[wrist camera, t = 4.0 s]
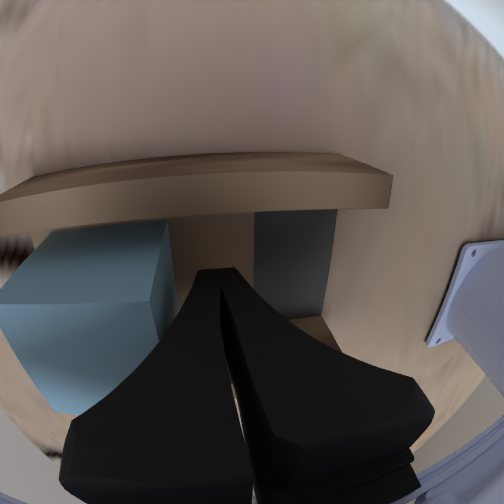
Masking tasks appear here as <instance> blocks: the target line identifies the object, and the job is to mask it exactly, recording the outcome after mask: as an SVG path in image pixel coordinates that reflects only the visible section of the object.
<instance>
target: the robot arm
mask: <svg viewBox="0 0 504 504" xmlns="http://www.w3.org/2000/svg"><path fill="white" fill-rule="evenodd" d="M454 338H455V339H456V340H457V341H458V342H459V344H460V345H461V346H462V347H463V348H464V349H465V350H466V352H467V353H468V354H469V355H470V356H471V357H472V359H473V360H474V361H475V362H476V363H477V365H478V366H479V367H480V368H481V369H482V371H483V372H484V373H485V374H486V375H487V377H488V378H489V379H490V380H491V382H492V383H493V384H494V386H495V387H496V388H497V389H498V391H499V392H500V393H501V395H502V396H503V397H504V240H498V241H488V242H478V243H468V244H466V245H465V246H464V247H463V248H462V250H461V253H460V257H459V260H458V263H457V266H456V269H455V272H454V275H453V278H452V281H451V283H450V286H449V289H448V292H447V294H446V297H445V299H444V302H443V304H442V307H441V309H440V312H439V314H438V316H437V319H436V321H435V323H434V326H433V328H432V330H431V332H430V334H429V337H428V339H427V341H426V345H427V346H428V347H429V348H430V347H434V346H436V345H439V344H442V343H444V342H447V341H449V340H452V339H454ZM226 361H227V362H226ZM227 364H228V367H227ZM228 368H229V372H230V376H231V379H232V383H233V387H234V390H235V394H236V398H237V402H238V406H239V411H240V417H241V422H242V428H243V433H244V437H243V433H242V429H241V425H240V421H239V417H238V413H237V409H236V404H235V400H234V396H233V391H232V386H231V382H230V377H229V372H228ZM434 414H435V410H434V408H433V406H432V404H431V403H430V401H429V400H428V398H427V397H426V395H425V394H424V392H423V391H422V389H421V388H420V387H419V385H418V384H417V382H416V381H415V380H414V379H413V378H412V377H409V376H405V375H402V374H398V373H395V372H392V371H388V370H385V369H382V368H379V367H376V366H373V365H370V364H368V363H365V362H363V361H360V360H358V359H355V358H353V357H350V356H348V355H346V354H344V353H342V352H340V351H338V350H336V349H334V348H332V347H330V346H328V345H326V344H324V343H323V342H321V341H319V340H317V339H315V338H314V337H312V336H310V335H309V334H307V333H306V332H304V331H303V330H301V329H300V328H298V327H297V326H295V325H294V324H292V323H291V322H290V321H288V320H287V319H286V318H285V317H283V316H282V315H281V314H280V313H279V312H277V311H276V310H275V309H274V308H273V307H272V306H271V305H270V304H268V303H267V302H266V301H265V300H264V299H263V298H262V297H261V296H260V295H259V294H258V293H257V292H256V291H255V290H254V289H253V287H252V286H251V285H250V284H249V283H248V282H247V281H246V280H245V278H244V277H243V276H242V275H241V273H240V272H239V271H238V270H237V269H236V268H235V267H229V268H216V269H202V270H199V271H198V272H197V273H196V276H195V279H194V282H193V285H192V287H191V289H190V292H189V294H188V296H187V298H186V299H185V301H184V303H183V305H182V307H181V309H180V311H179V312H178V314H177V316H176V317H175V319H174V320H173V322H172V324H171V325H170V327H169V328H168V330H167V331H166V333H165V334H164V335H163V337H162V338H161V340H160V341H159V342H158V343H157V345H156V346H155V347H154V349H153V350H152V351H151V352H150V353H149V354H148V355H147V357H146V358H145V359H144V360H143V361H142V362H141V363H140V365H139V366H138V367H137V368H136V369H135V370H134V371H133V372H132V373H131V374H130V375H129V376H128V377H126V378H125V379H124V380H123V381H122V382H121V383H120V384H119V385H118V386H117V387H116V388H115V389H114V390H112V391H111V392H110V393H109V394H108V395H107V396H105V397H104V398H103V399H101V400H100V401H99V402H97V403H96V404H95V405H93V406H92V407H91V408H89V409H88V410H86V411H85V412H84V413H82V414H81V415H79V416H78V417H76V418H75V419H73V420H72V421H71V424H70V428H69V430H68V433H67V436H66V439H65V443H64V448H63V454H62V460H61V466H60V473H59V481H60V483H61V485H62V486H63V487H64V489H65V490H67V491H68V492H69V493H70V494H72V495H74V496H75V497H77V498H78V499H80V500H82V501H83V502H85V503H87V504H252V495H253V487H254V492H255V498H256V503H257V504H406V503H408V502H410V501H412V500H414V499H415V498H417V497H418V498H417V499H416V500H415V503H414V504H504V415H503V416H502V417H501V418H500V419H499V420H497V421H496V422H495V423H494V424H493V425H491V426H490V427H489V428H487V429H486V430H485V431H484V432H482V433H481V434H480V435H478V436H477V437H475V438H474V439H473V440H471V441H470V442H469V443H467V444H466V445H464V446H463V447H461V448H460V449H458V450H457V451H455V452H454V453H452V454H451V455H449V456H447V457H446V458H444V459H443V460H441V461H439V462H437V463H436V464H434V465H432V466H431V467H429V468H427V469H426V470H423V471H422V472H420V473H418V474H415V473H414V470H413V468H412V467H411V465H410V463H411V462H413V461H414V456H413V454H412V452H411V450H410V447H411V446H412V444H413V443H414V442H415V441H416V440H417V439H418V438H419V437H420V436H421V435H422V434H423V432H424V431H425V430H426V429H427V428H428V426H429V425H430V424H431V422H432V420H433V417H434ZM244 439H245V441H244ZM0 504H27V503H25V502H22V501H19V500H17V499H15V498H12V497H10V496H8V495H5V494H3V493H1V492H0Z"/></svg>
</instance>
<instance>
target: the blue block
mask: <svg viewBox="0 0 504 504" xmlns="http://www.w3.org/2000/svg"><path fill="white" fill-rule="evenodd" d="M179 311H180V309H179V303H178V297H177V291H176V284H175V277H174V270H173V263H172V255H171V247H170V239H169V230H168V221H167V220H164V221H152V222H140V223H129V224H118V225H108V226H98V227H89V228H80V229H71V230H62V231H54V232H51V233H50V234H49V235H48V236H47V237H46V238H45V239H44V240H43V241H42V242H41V244H40V245H39V246H38V247H37V248H36V249H35V250H34V251H33V252H32V253H31V254H30V255H29V256H28V257H27V259H26V260H25V261H24V262H23V263H22V264H21V265H20V266H19V268H18V269H17V270H16V271H15V272H14V273H13V275H12V276H11V277H10V278H9V279H8V281H7V282H6V283H5V284H4V285H3V287H2V288H1V289H0V328H1V329H2V331H3V333H4V335H5V337H6V339H7V340H8V342H9V344H10V346H11V348H12V349H13V351H14V353H15V354H16V356H17V358H18V359H19V361H20V363H21V364H22V366H23V367H24V369H25V370H26V372H27V373H28V375H29V376H30V378H31V379H32V381H33V382H34V384H35V385H36V387H37V388H38V389H39V391H40V392H41V394H42V395H43V396H44V398H45V399H46V400H47V402H48V403H49V404H50V406H51V407H52V408H53V409H54V411H55V412H60V413H67V414H75V415H81V414H82V413H84V412H85V411H86V410H88V409H89V408H91V407H92V406H93V405H95V404H96V403H97V402H99V401H100V400H101V399H103V398H104V397H105V396H107V395H108V394H109V393H110V392H111V391H112V390H114V389H115V388H116V387H117V386H118V385H119V384H120V383H121V382H122V381H123V380H124V379H125V378H126V377H128V376H129V375H130V374H131V373H132V372H133V371H134V370H135V369H136V368H137V367H138V366H139V365H140V363H141V362H142V361H143V360H144V359H145V358H146V357H147V355H148V354H149V353H150V352H151V351H152V350H153V349H154V347H155V346H156V345H157V343H158V342H159V341H160V340H161V338H162V337H163V335H164V334H165V333H166V331H167V330H168V328H169V327H170V325H171V324H172V322H173V320H174V319H175V317H176V316H177V314H178V312H179Z"/></svg>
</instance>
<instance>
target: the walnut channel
mask: <svg viewBox="0 0 504 504" xmlns="http://www.w3.org/2000/svg"><path fill="white" fill-rule="evenodd" d="M392 180H393V175H391V174H389V173H386V172H384V171H381V170H379V169H377V168H374V167H372V166H369V165H366V164H364V163H361V162H359V161H356V160H353V159H351V158H348V157H345V156H343V155H339V154H320V153H286V152H249V153H216V154H197V155H182V156H169V157H158V158H148V159H139V160H130V161H122V162H114V163H107V164H100V165H94V166H87V167H81V168H76V169H70V170H65V171H59V172H54V173H49V174H44V175H40V176H35V177H32V178H30V179H28V180H26V181H24V182H22V183H20V184H18V185H17V186H15V187H13V188H11V189H9V190H8V191H6V192H4V193H2V194H1V195H0V236H4V235H11V234H18V233H25V232H30V234H31V238H32V241H33V245H34V248H35V249H36V248H37V247H38V246H39V245H40V244H41V242H42V241H43V240H44V239H45V238H46V237H47V236H48V235H49V234H50V233H51V232H54V231H62V230H71V229H80V228H89V227H98V226H108V225H118V224H129V223H140V222H152V221H164V220H167V221H168V230H169V239H170V247H171V255H172V263H173V270H174V277H175V284H176V291H177V297H178V303H179V309H181V307H182V305H183V303H184V301H185V299H186V298H187V296H188V294H189V292H190V289H191V287H192V285H193V282H194V279H195V276H196V273H197V272H198V271H199V270H202V269H216V268H229V267H235V268H236V269H237V270H238V271H239V272H240V273H241V275H242V276H243V277H244V278H245V280H246V281H247V282H248V283H249V284H250V285H251V286H252V287H253V289H254V290H255V291H256V292H257V293H258V294H259V295H260V296H261V297H262V298H263V299H264V300H265V301H266V302H267V303H268V304H270V305H271V306H272V307H273V308H274V309H275V310H276V311H277V312H279V313H280V314H281V315H282V316H283V317H285V318H286V319H287V320H288V321H290V322H291V323H292V324H294V325H295V326H297V327H298V328H300V329H301V330H303V331H304V332H306V333H307V334H309V335H310V336H312V337H314V338H315V339H317V340H319V341H321V342H323V343H324V344H326V345H328V346H330V347H332V348H334V349H336V350H338V351H340V352H342V351H341V349H340V348H339V346H338V344H337V342H336V340H335V339H334V337H333V335H332V333H331V332H330V330H329V328H328V326H327V325H326V323H325V321H324V319H323V318H322V316H321V314H322V308H323V303H324V297H325V291H326V285H327V279H328V273H329V267H330V260H331V253H332V246H333V239H334V232H335V224H336V215H337V209H374V208H388V207H389V201H390V194H391V187H392ZM226 362H227V361H226ZM227 367H228V364H227ZM228 372H229V368H228ZM229 377H230V382H231V386H232V391H233V396H234V398H236V394H235V390H234V387H233V383H232V379H231V376H230V372H229Z"/></svg>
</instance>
